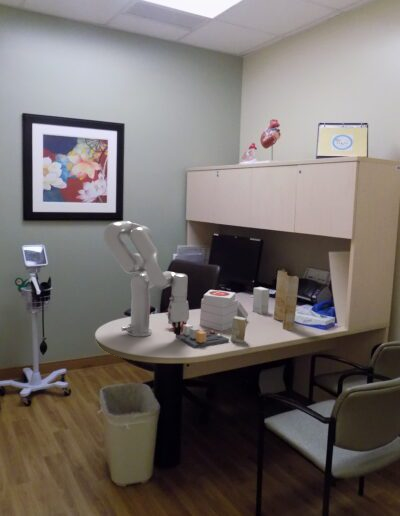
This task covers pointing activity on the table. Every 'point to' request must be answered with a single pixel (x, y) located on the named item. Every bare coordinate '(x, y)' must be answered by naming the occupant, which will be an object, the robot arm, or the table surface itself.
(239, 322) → the skincare box
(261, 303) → the skincare box
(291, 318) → the parchment
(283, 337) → the table surface
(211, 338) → the panel
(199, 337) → the orange slider
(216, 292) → the pizza boxes
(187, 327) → the ivory slider
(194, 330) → the grey slider
